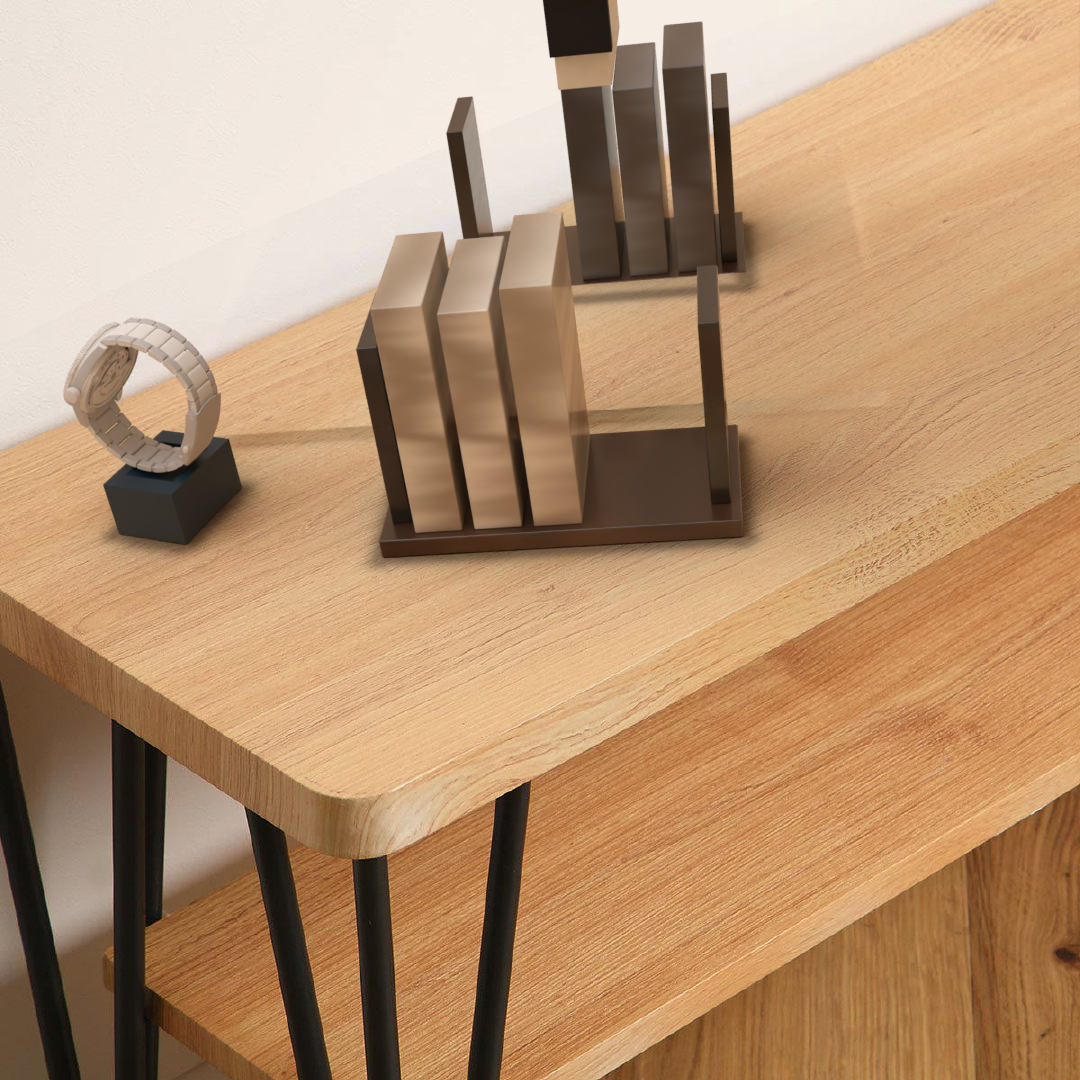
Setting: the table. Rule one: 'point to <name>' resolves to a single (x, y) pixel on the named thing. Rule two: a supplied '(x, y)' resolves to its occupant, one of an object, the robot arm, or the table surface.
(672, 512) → the brown rack
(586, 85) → the beige book
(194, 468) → the watch
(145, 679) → the table surface
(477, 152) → the grey rack
